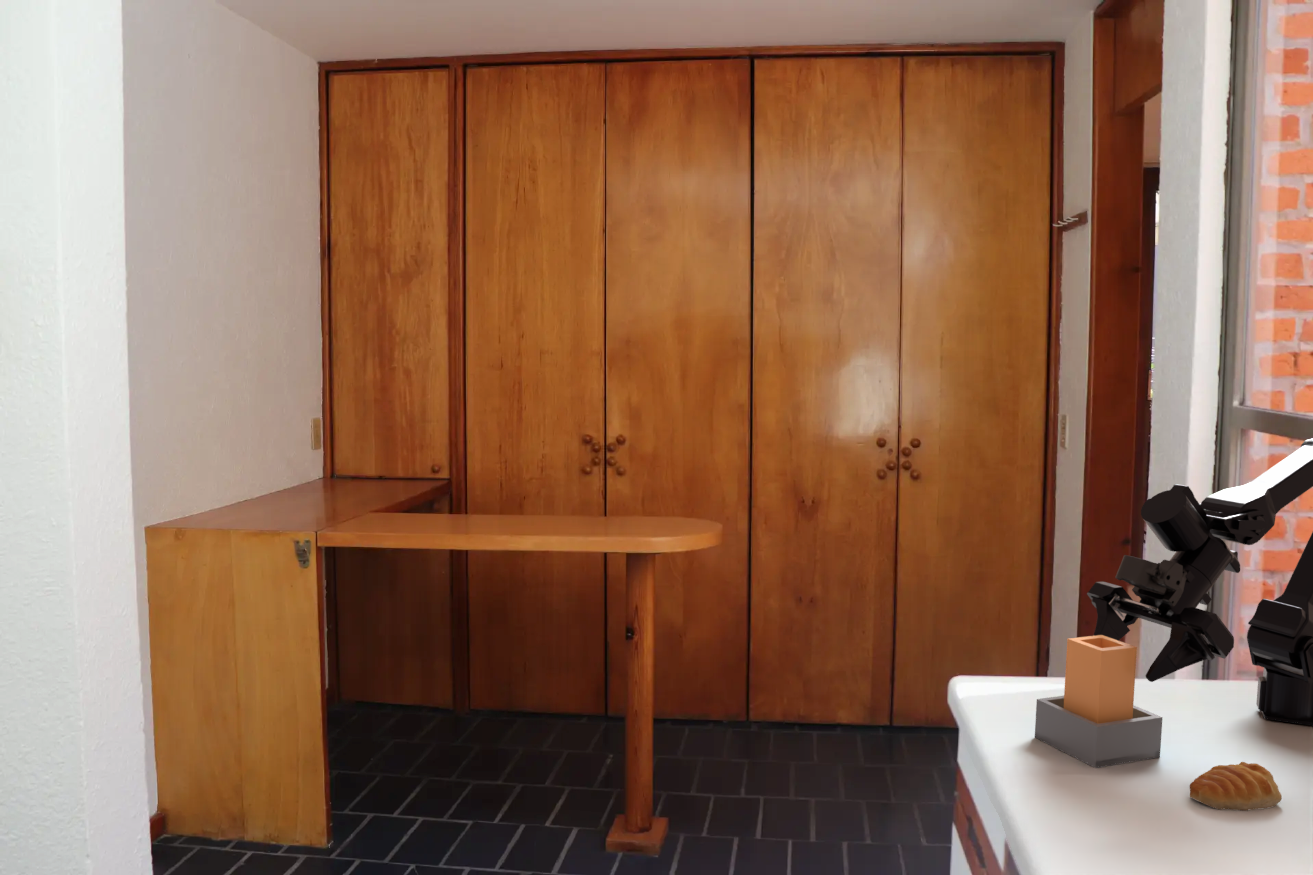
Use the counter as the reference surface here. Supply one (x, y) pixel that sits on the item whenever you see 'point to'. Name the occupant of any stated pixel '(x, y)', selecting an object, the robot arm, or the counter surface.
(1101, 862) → the counter surface
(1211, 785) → the pastry
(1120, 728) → the grey crate
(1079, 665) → the orange hollow square block
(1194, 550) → the robot arm
